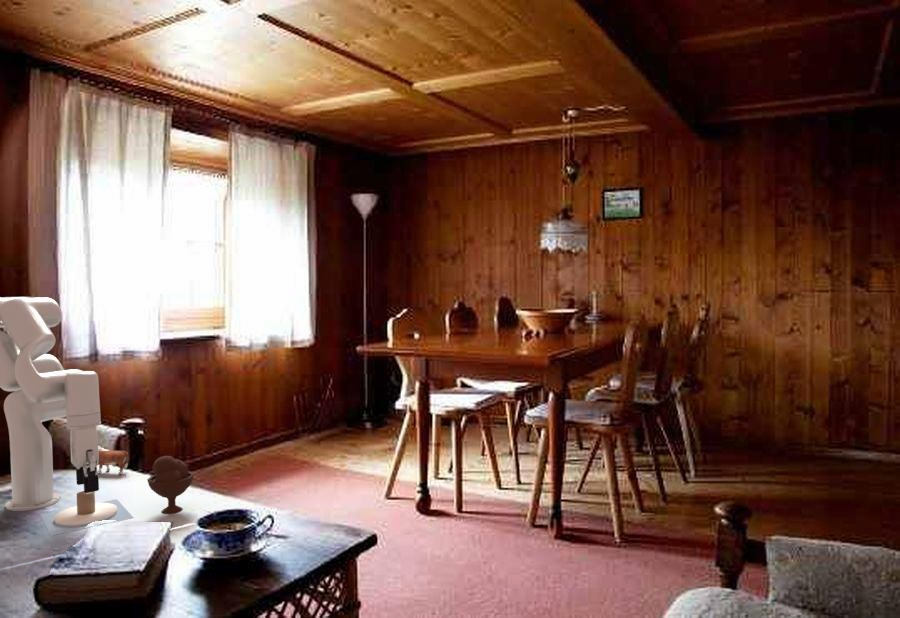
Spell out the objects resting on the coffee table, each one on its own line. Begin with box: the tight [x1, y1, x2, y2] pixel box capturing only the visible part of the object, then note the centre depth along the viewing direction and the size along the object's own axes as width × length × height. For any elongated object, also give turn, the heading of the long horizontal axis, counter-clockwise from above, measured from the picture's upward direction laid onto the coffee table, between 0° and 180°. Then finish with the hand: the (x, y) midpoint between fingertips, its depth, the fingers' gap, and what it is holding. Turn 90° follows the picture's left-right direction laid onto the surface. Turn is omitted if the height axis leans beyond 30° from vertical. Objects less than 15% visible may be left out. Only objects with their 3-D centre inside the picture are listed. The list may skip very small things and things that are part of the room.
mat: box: [39, 498, 134, 537], centre depth 166 cm, size 18×18×1 cm
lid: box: [54, 490, 117, 526], centre depth 166 cm, size 14×14×6 cm
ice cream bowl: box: [147, 455, 195, 515], centre depth 169 cm, size 11×11×15 cm
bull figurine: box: [97, 445, 129, 475], centre depth 205 cm, size 4×13×8 cm, turn 73°
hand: (87, 487), depth 165 cm, fingers open, 9 cm apart
